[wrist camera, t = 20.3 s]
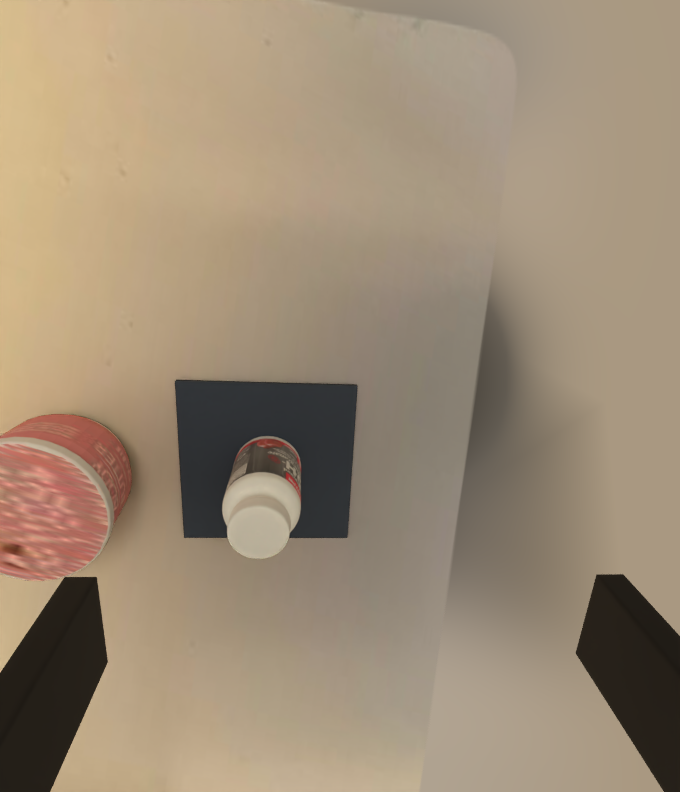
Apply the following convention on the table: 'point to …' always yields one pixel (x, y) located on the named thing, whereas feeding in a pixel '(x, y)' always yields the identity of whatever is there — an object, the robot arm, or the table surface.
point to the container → (58, 495)
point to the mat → (266, 416)
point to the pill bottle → (263, 497)
